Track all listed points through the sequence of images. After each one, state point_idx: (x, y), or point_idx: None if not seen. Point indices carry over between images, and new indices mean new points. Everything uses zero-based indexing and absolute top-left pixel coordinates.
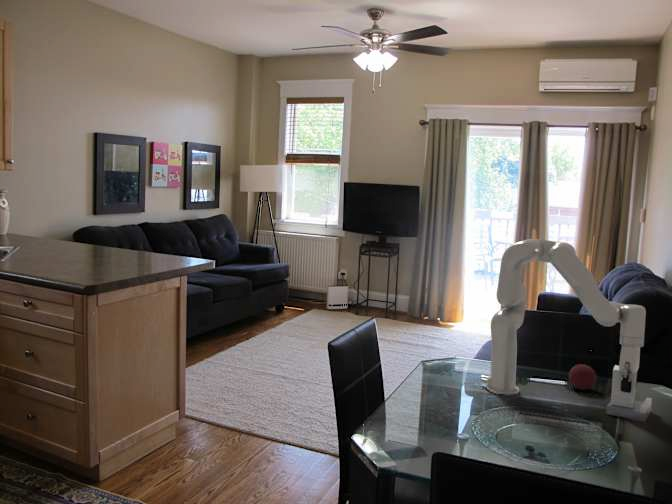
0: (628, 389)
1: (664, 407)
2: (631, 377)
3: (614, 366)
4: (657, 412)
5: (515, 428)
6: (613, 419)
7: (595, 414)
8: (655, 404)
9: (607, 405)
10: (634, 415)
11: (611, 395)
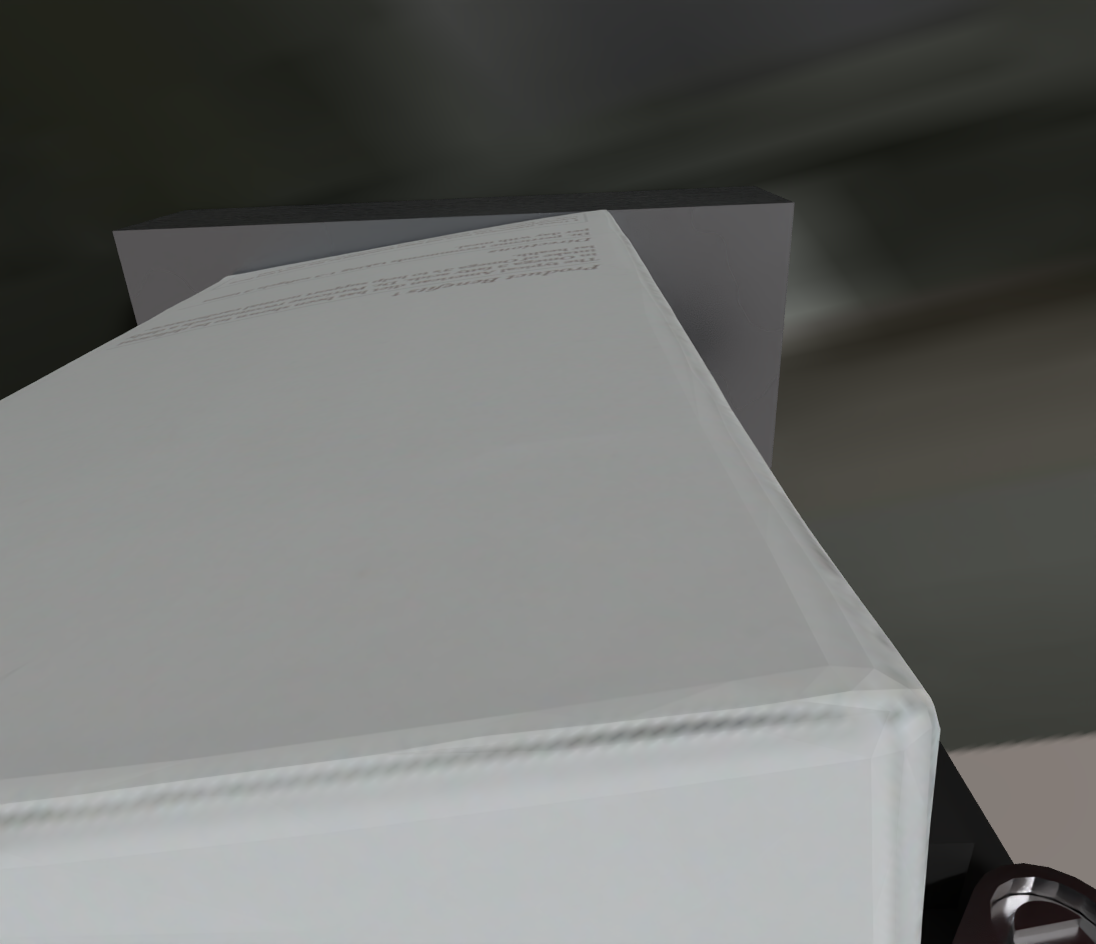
0: None
1: (1013, 728)
2: None
3: (313, 774)
4: None
5: None
6: (50, 360)
7: (7, 64)
8: (1090, 638)
9: (128, 239)
10: None
11: (140, 326)
